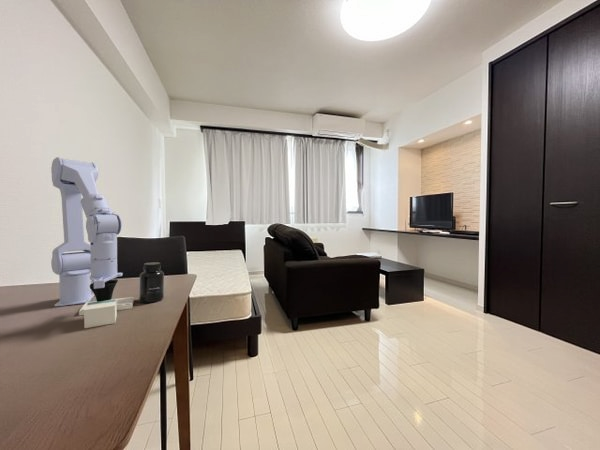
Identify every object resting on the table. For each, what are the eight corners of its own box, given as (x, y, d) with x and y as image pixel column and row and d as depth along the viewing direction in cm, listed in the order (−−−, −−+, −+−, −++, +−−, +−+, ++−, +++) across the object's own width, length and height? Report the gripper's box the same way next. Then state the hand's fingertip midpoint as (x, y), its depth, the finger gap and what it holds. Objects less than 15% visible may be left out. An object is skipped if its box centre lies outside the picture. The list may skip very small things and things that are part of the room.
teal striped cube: (88, 319, 66) (88, 302, 66) (116, 315, 69) (116, 298, 69) (84, 328, 61) (84, 309, 61) (115, 323, 64) (115, 305, 64)
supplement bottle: (152, 304, 78) (152, 265, 78) (134, 302, 79) (133, 264, 79) (168, 297, 85) (168, 262, 84) (151, 296, 86) (151, 261, 86)
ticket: (86, 306, 75) (86, 302, 75) (134, 300, 81) (134, 296, 81) (78, 315, 68) (78, 310, 68) (131, 308, 74) (131, 304, 74)
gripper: (118, 261, 64) (118, 314, 64) (125, 254, 77) (125, 298, 77) (82, 263, 61) (83, 319, 61) (95, 255, 73) (96, 301, 74)
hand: (104, 308), depth 69 cm, fingers closed
